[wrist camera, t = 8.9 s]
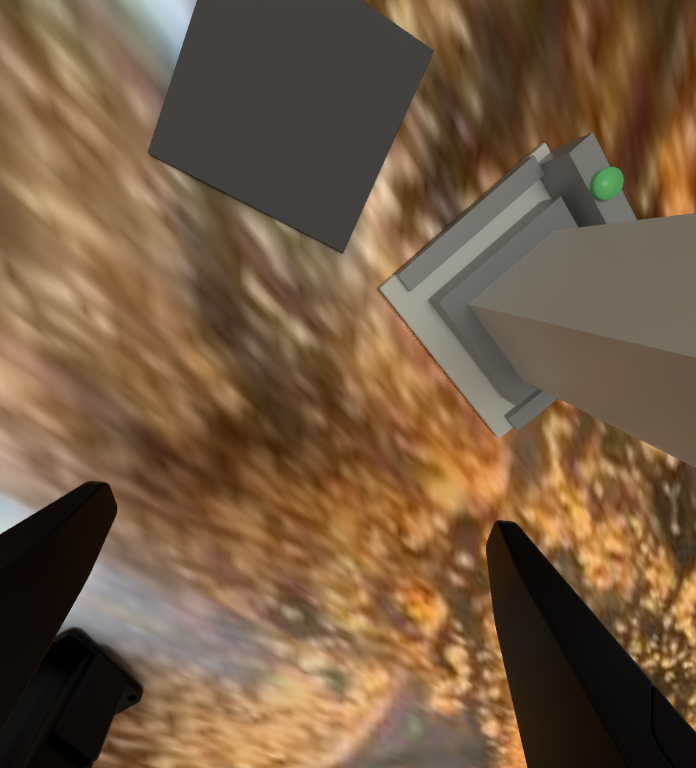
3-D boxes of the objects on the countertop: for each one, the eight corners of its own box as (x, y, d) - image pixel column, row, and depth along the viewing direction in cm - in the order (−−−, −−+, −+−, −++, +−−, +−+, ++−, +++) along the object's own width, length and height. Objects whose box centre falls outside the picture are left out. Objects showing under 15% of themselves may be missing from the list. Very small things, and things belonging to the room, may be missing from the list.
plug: (501, 397, 22) (832, 606, 9) (427, 299, 20) (717, 375, 6) (605, 312, 21) (1135, 395, 8) (540, 201, 19) (1121, 60, 6)
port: (494, 435, 23) (528, 463, 20) (377, 287, 20) (394, 292, 16) (638, 318, 22) (698, 327, 19) (541, 142, 19) (594, 117, 15)
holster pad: (342, 252, 19) (342, 252, 19) (150, 154, 17) (147, 152, 16) (431, 54, 17) (433, 50, 17) (228, -87, 15) (227, -93, 15)
